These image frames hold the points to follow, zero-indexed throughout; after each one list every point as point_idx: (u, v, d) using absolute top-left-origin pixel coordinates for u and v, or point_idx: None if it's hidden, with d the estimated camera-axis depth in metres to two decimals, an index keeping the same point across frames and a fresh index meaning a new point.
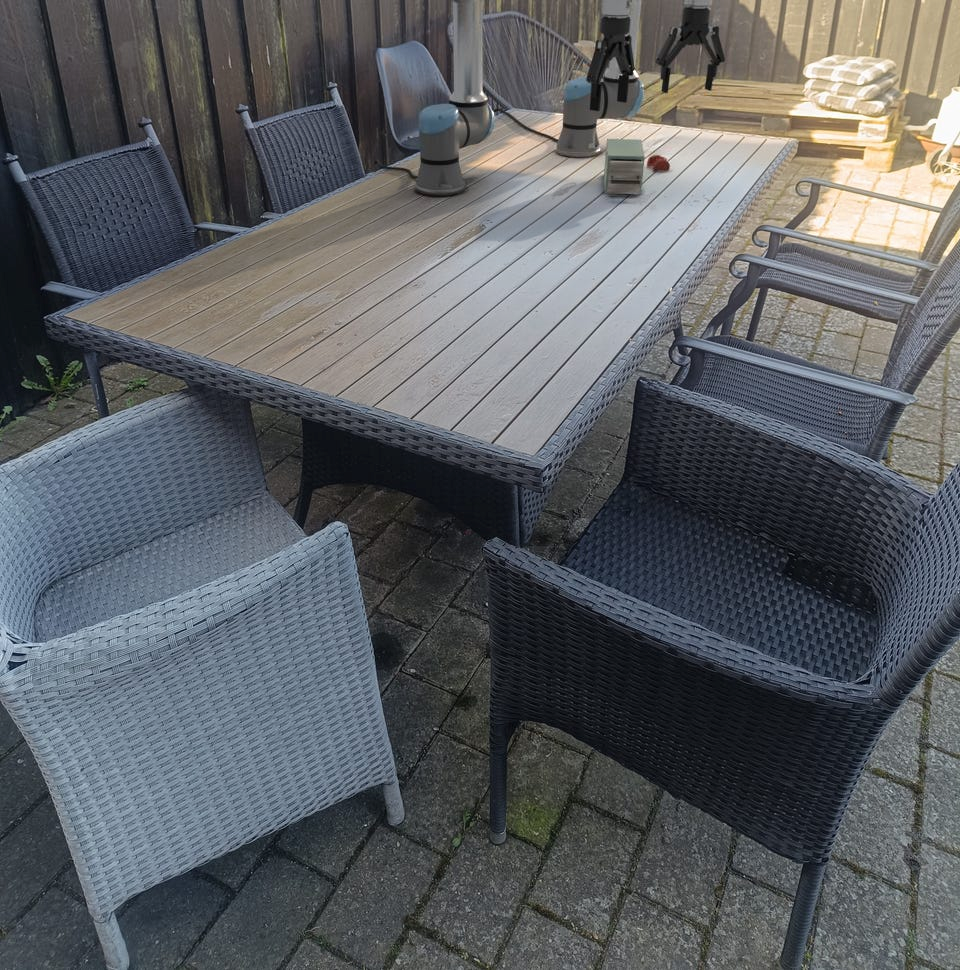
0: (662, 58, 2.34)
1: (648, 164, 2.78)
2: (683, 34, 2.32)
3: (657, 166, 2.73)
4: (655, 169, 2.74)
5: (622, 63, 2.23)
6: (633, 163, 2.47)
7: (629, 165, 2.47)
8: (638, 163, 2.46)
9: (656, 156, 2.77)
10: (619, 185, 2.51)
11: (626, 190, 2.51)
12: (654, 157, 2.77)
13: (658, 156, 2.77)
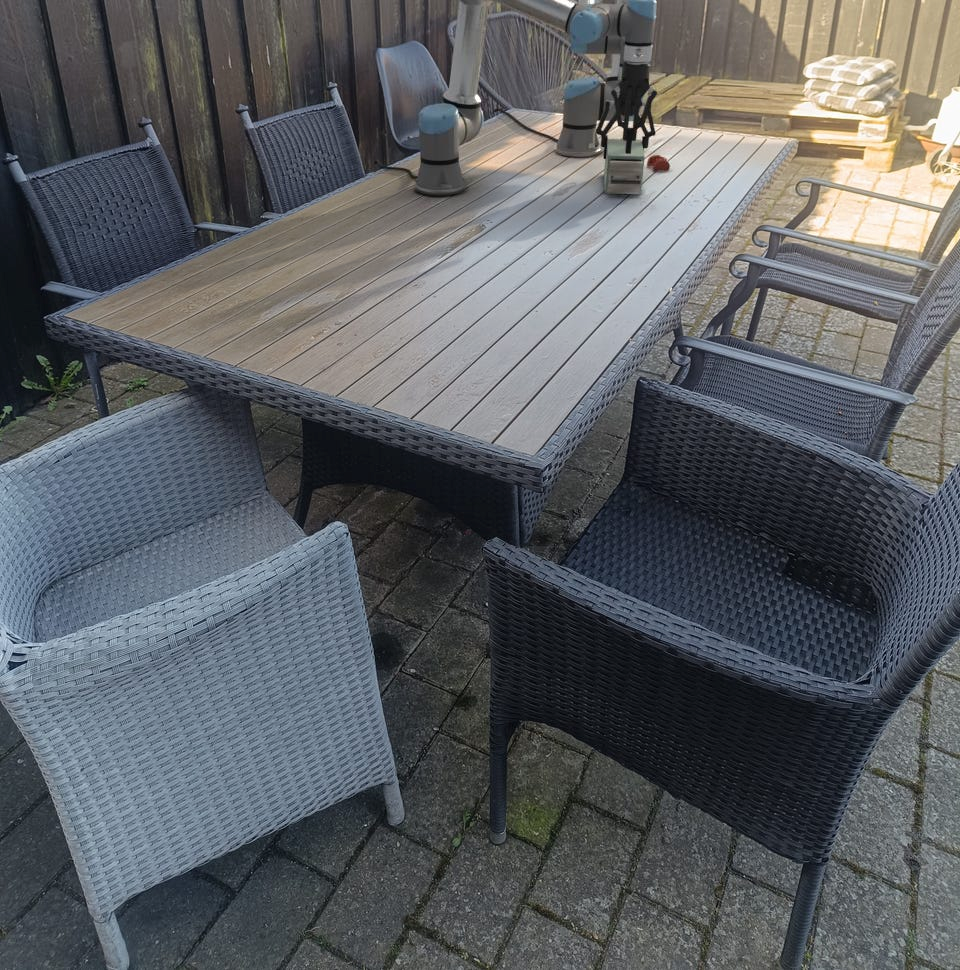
0: (598, 128, 2.58)
1: (648, 164, 2.78)
2: None
3: (657, 166, 2.73)
4: (655, 169, 2.74)
5: (634, 111, 2.36)
6: (633, 163, 2.47)
7: (629, 165, 2.47)
8: (638, 163, 2.46)
9: (656, 156, 2.77)
10: (619, 185, 2.51)
11: (626, 190, 2.51)
12: (654, 157, 2.77)
13: (658, 156, 2.77)
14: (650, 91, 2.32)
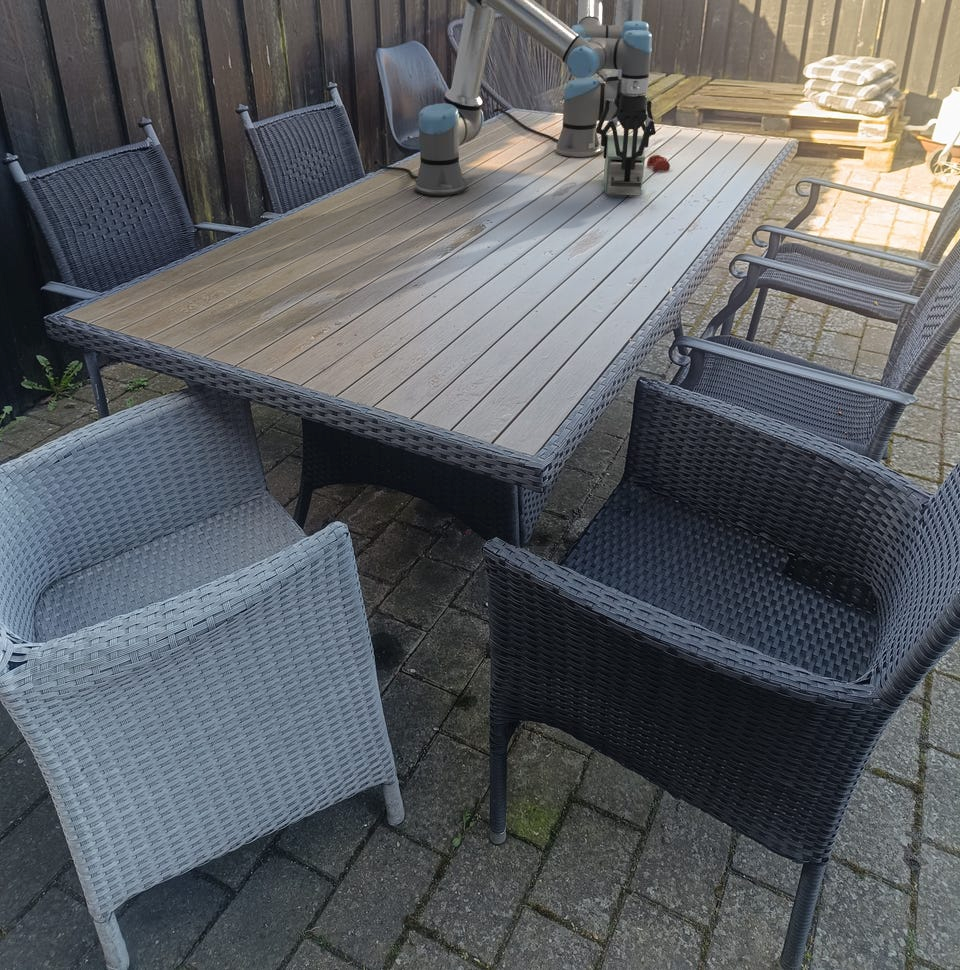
0: (598, 127, 2.58)
1: (648, 164, 2.78)
2: (616, 104, 2.54)
3: (657, 166, 2.73)
4: (655, 169, 2.74)
5: (632, 141, 2.40)
6: None
7: None
8: (638, 165, 2.46)
9: (656, 156, 2.77)
10: (619, 186, 2.50)
11: (626, 191, 2.51)
12: (654, 157, 2.77)
13: (658, 156, 2.77)
14: (647, 121, 2.37)
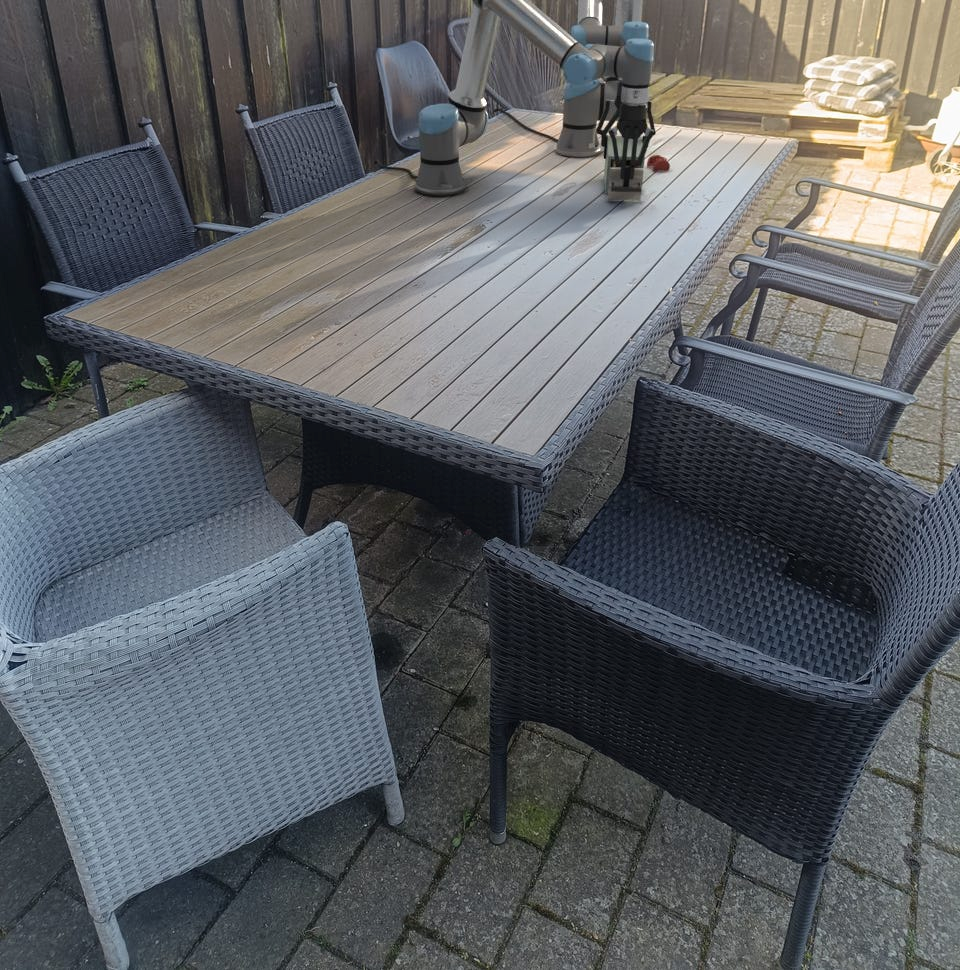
0: (598, 127, 2.58)
1: (648, 164, 2.78)
2: (616, 105, 2.54)
3: (657, 166, 2.73)
4: (655, 169, 2.74)
5: None
6: (634, 170, 2.42)
7: None
8: (639, 170, 2.42)
9: (656, 156, 2.77)
10: (619, 192, 2.47)
11: (627, 197, 2.47)
12: (654, 157, 2.77)
13: (658, 156, 2.77)
14: (647, 131, 2.33)
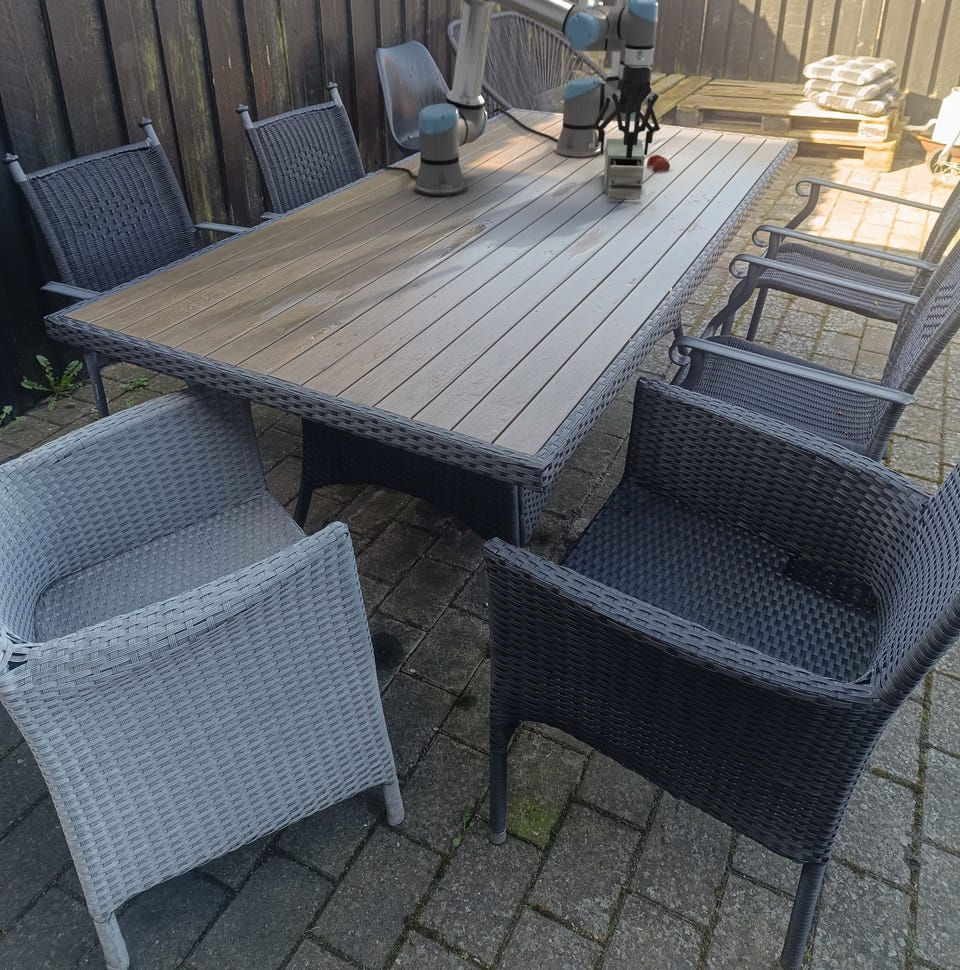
0: (596, 123, 2.58)
1: (648, 164, 2.78)
2: None
3: (657, 166, 2.73)
4: (655, 169, 2.74)
5: (635, 115, 2.32)
6: (634, 168, 2.43)
7: (630, 170, 2.43)
8: (639, 168, 2.42)
9: (656, 156, 2.77)
10: (619, 190, 2.47)
11: (627, 195, 2.47)
12: (654, 157, 2.77)
13: (658, 156, 2.77)
14: (651, 95, 2.29)
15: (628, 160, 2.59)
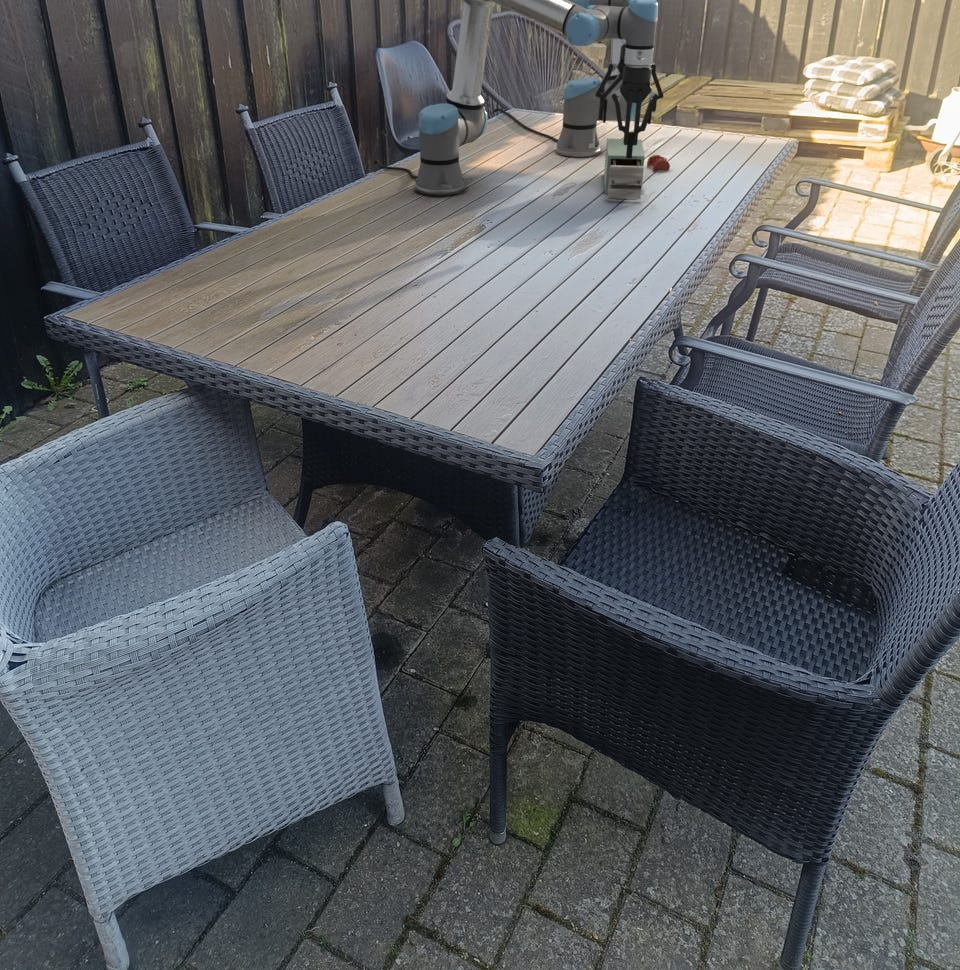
0: (598, 90, 2.52)
1: (648, 164, 2.78)
2: (619, 70, 2.49)
3: (657, 166, 2.73)
4: (655, 169, 2.74)
5: (635, 115, 2.32)
6: (634, 168, 2.43)
7: (630, 170, 2.43)
8: (639, 168, 2.42)
9: (656, 156, 2.77)
10: (619, 190, 2.47)
11: (627, 195, 2.47)
12: (654, 157, 2.77)
13: (658, 156, 2.77)
14: (651, 95, 2.29)
15: (628, 160, 2.59)
